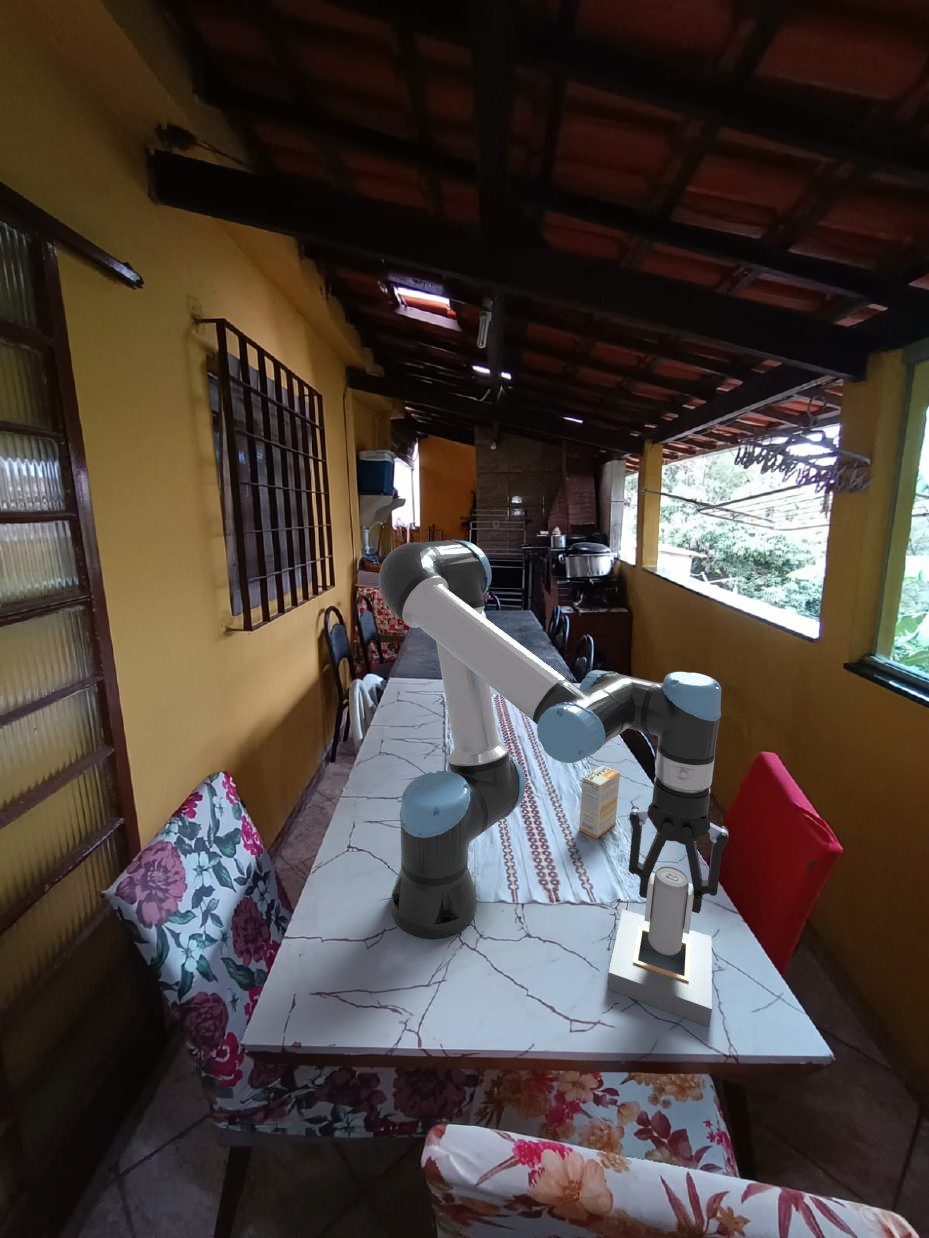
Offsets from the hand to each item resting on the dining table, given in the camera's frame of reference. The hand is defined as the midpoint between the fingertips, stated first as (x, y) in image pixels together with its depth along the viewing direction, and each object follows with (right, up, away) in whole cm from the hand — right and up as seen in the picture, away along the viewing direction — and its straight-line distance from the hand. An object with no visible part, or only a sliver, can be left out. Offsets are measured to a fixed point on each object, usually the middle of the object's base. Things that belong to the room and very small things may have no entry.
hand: (667, 920), depth 82 cm
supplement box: (-1, -1, +39) cm, 39 cm away
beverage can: (0, -4, +1) cm, 4 cm away
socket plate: (0, -9, +2) cm, 9 cm away
